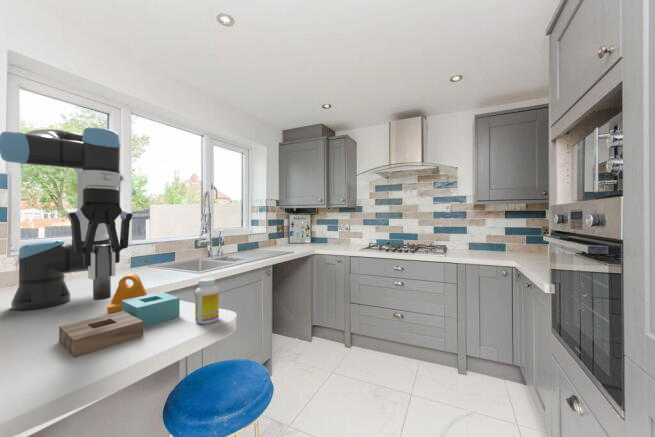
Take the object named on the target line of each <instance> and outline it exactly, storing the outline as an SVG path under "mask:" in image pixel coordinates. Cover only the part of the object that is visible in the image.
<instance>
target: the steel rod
mask: <svg viewBox="0 0 655 437" xmlns="http://www.w3.org/2000/svg"><path fill="white" fill-rule="evenodd" d="M93 253H94V254H95V279H92V300H94V301H102V300H108V299H110V298H111V296H112V295H111V294H112V291H111V290H112V283H111V282H112V279H111V278H112V276H111V245H94V246H93Z"/></svg>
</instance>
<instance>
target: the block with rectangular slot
mask: <svg viewBox="0 0 655 437" xmlns="http://www.w3.org/2000/svg"><path fill="white" fill-rule="evenodd" d="M121 311H125V312H127V313H129V314H131V315H133V316H135V317H137V318H138V319H140V320H142V321H143V328H145V327H147V326H150V325H154V324H156V323H157V324H158V323H161V322H165V321H168V320H172V319H175V318H178V317H177V316H179V317H180V314H181V310H180V297H179V296H176V295H173V294H169V293H166V292H163V291H160V292H156V293H151V294H147V295H145V296H141V297H136V298H131V299H126V300H121Z"/></svg>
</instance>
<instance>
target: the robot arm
mask: <svg viewBox="0 0 655 437" xmlns="http://www.w3.org/2000/svg"><path fill="white" fill-rule="evenodd" d="M120 140H121V139H120V135H119V134H118V132H116V131H115V130H111V129H108V128H103V127H96V126H95V127H94V126H93V127H86V128H83V131H82V133H79V132H75V131H66V130H63V129H62V130H61V129H33V130H30V131H27V132H25V133H23V132H19V131H18V132H16V131H15V132H13V131H3V132H1V133H0V158H1V160H2V161H5V162H8V163H13V164H14V163H16V164H20V165H35V166H46V167H60V168H67V169H72V170H73V171H74V172H76V183H77V185H76V186H77V189H76V193H77V194H76V201H77V202H76V203H77V204H76V211H73V212H68V213H66V216H67V218H68V220H69V221H70V225H71V226H70V227H71V242H65V240H64V239H55V240H54V239H53V240H52V239H51V240H46V241H45V240H43V241H37V242H33V243H27V244H24V245H21V246H20V247H19V250H18V258H17V260H18V287H17V289H16V292H15V294H14V295H13V298H12V300H11V304H10V306H11V310H13V311H27V310H29V311H30V310H38V309H44V308H50V307H53V306H58V305H62V304H64V303H68V302H69V301H70V300H71V291H70V290H69V288H68V286H67V283H66V281H65V274H69V273H71V274H72V273H79V272H81V273H82V272H87V275H88V277H87V278H88V279H89V280H93V279H95V254H94V253H93V246H94V245H111V277H116V264H119V263H120V261H121V260H120V258H121V257H120V256H121V254H120V252H121V251H122V250H125V249H127V248H128V247H129V237H130V223H131V220H132V218H133V213H130V212H127V211H126V212H125V211H123V210H122V209H123V208H122V207H121V200H120V198H121V192H120V191H119V189H120V186H121V184H120V183H121V182H120V181H121V179H120V178H121V177H120V176H121V175H120V172H121V171H120V159H121V158H120V157H121V155H120V153H121V150H120V148H121V142H120ZM118 217H120V219H121V220H120V221H121V222H120V237H118V232H117V227H116V226H117V225H116V220H117V219H118ZM106 229H107V233H108V234H107V233H106Z"/></svg>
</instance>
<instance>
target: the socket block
mask: <svg viewBox="0 0 655 437" xmlns="http://www.w3.org/2000/svg"><path fill="white" fill-rule="evenodd" d="M143 336H144V327H143V321H142V320H140V319H138V318H137V317H135V316H133V315H131V314H129V313H127V312H125V311H121V312H117V313H116V312H112V313H107V314H105V315H100V316H97V317H92V318H87V319H84V320H79V321H75V322H74V321H73V322H70V323H67V324H61V325H59V326H58V342H59V343H60V344H61V345H62V346H63V347H64V349H66V351H67V352H68V353H70V355H71V356H72V357H73V358H77V357H79V356H83V355H87V354H89V353H92V352H97V351H99V350H102V349H105V348H109V347H111V346H116V345H118V344H122V343H125V342H128V341H131V340H134V339H137V338H141V337H143Z"/></svg>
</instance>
